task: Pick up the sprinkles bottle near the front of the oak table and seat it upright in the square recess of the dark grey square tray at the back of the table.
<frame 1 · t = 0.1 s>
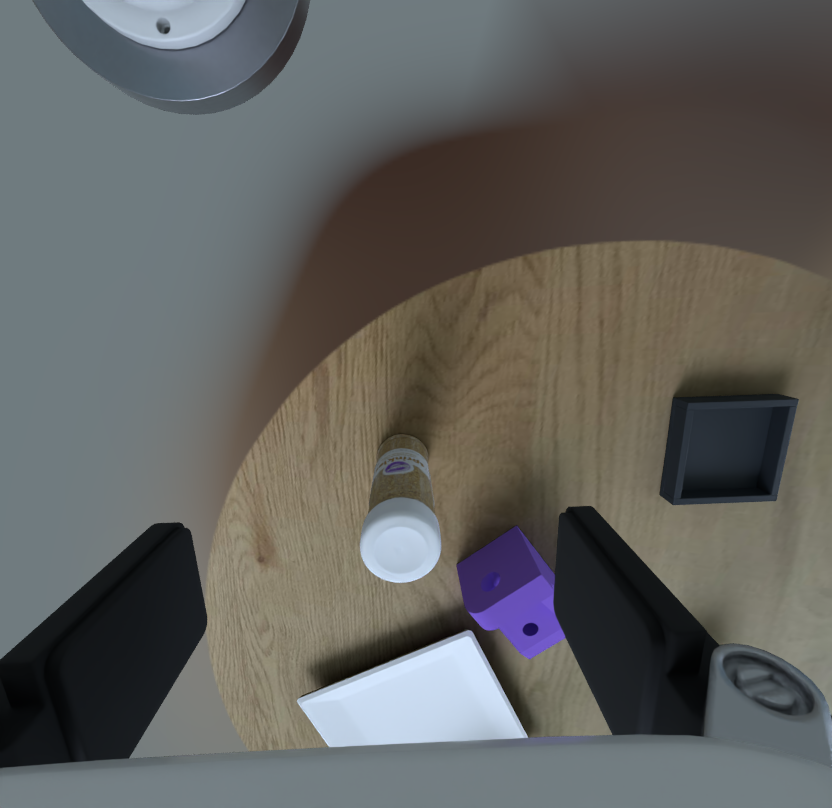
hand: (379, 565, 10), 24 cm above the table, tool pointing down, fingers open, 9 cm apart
bracket: (520, 586, 39), on the table
dark grey square tray: (716, 445, 35), on the table
plate: (421, 711, 42), on the table
sprinkles bottle: (402, 456, 35), on the table
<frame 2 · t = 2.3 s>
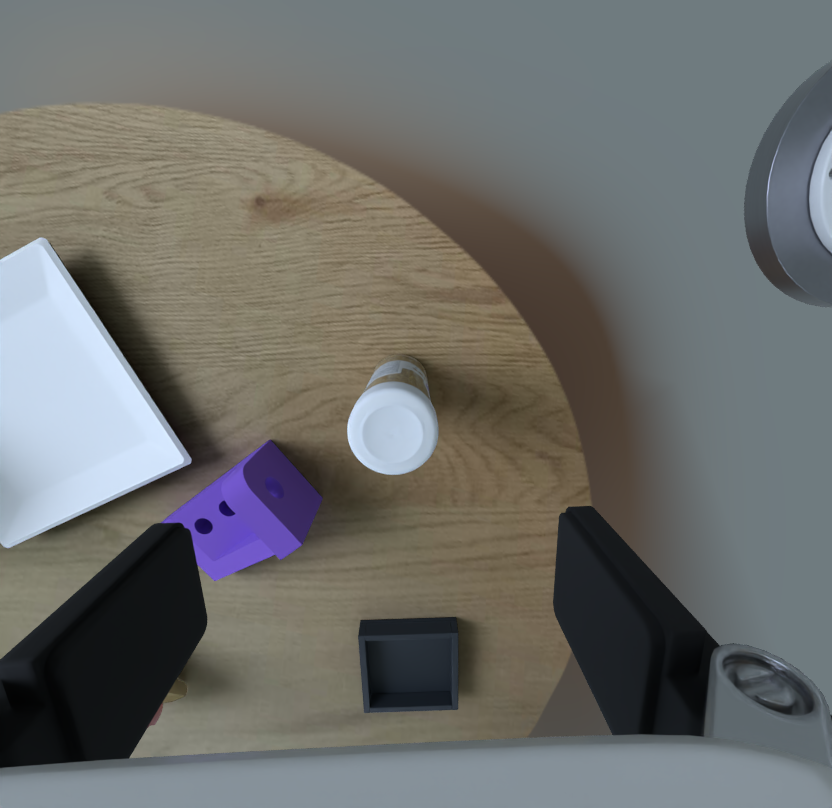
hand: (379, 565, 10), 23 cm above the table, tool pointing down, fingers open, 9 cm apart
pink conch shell: (148, 663, 39), on the table
bracket: (246, 506, 35), on the table
dark grey square tray: (409, 656, 39), on the table
plate: (46, 401, 33), on the table
sprinkles bottle: (399, 379, 32), on the table
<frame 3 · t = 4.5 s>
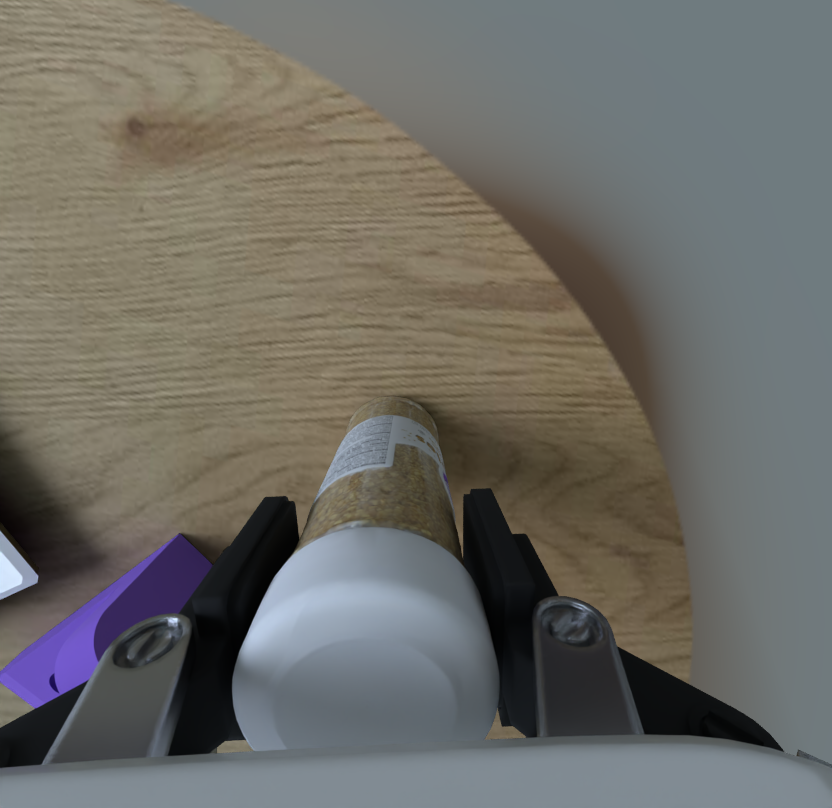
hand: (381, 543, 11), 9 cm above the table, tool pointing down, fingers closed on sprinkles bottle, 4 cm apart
bracket: (148, 633, 22), on the table
sprinkles bottle: (391, 436, 20), on the table, touching gripper
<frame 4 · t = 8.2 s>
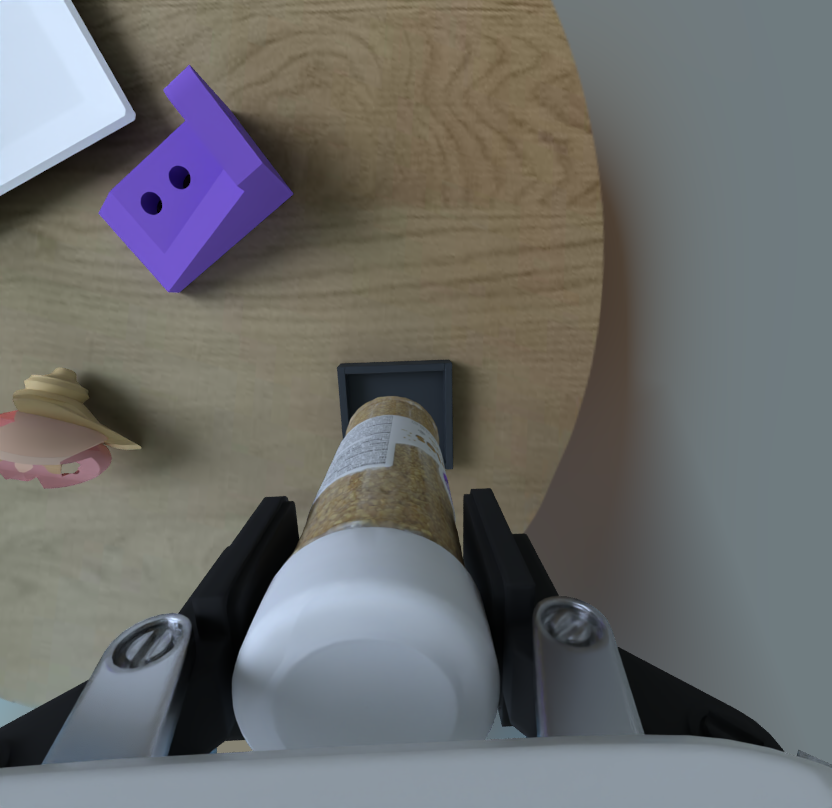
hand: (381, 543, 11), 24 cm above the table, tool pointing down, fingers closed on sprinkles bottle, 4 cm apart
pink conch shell: (97, 424, 34), on the table
bracket: (204, 206, 30), on the table
dark grey square tray: (397, 413, 35), on the table
sprinkles bottle: (391, 436, 20), point 15 cm above the table, touching gripper
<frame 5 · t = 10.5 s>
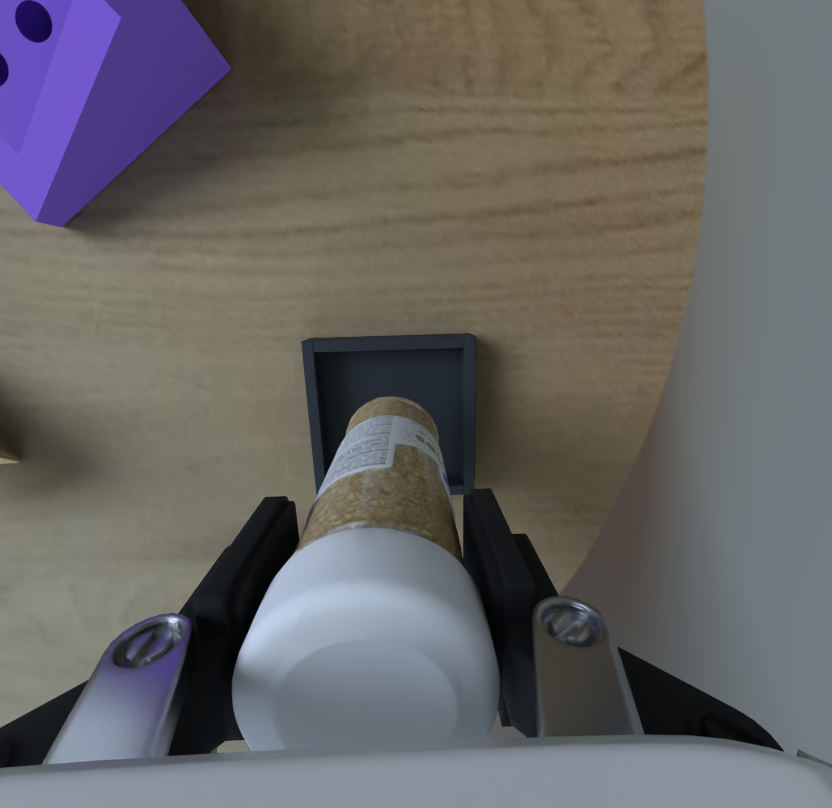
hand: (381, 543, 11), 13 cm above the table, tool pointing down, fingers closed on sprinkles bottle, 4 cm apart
bracket: (94, 89, 20), on the table
dark grey square tray: (393, 413, 24), on the table
sprinkles bottle: (391, 436, 20), point 4 cm above the table, touching gripper
when the fingers open (9 cm above the table, at t = 11.9 s): sprinkles bottle stays where it is, resting on dark grey square tray.
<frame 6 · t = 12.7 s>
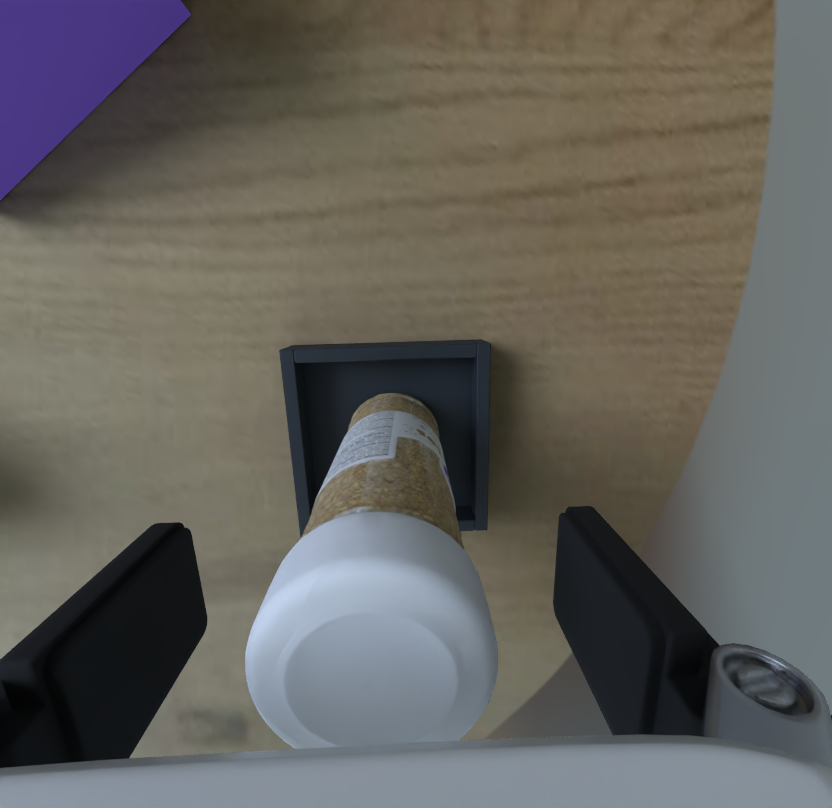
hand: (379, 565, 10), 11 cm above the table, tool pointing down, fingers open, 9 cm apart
bracket: (22, 40, 16), on the table
dark grey square tray: (391, 433, 20), on the table
sprinkles bottle: (393, 432, 20), resting on dark grey square tray
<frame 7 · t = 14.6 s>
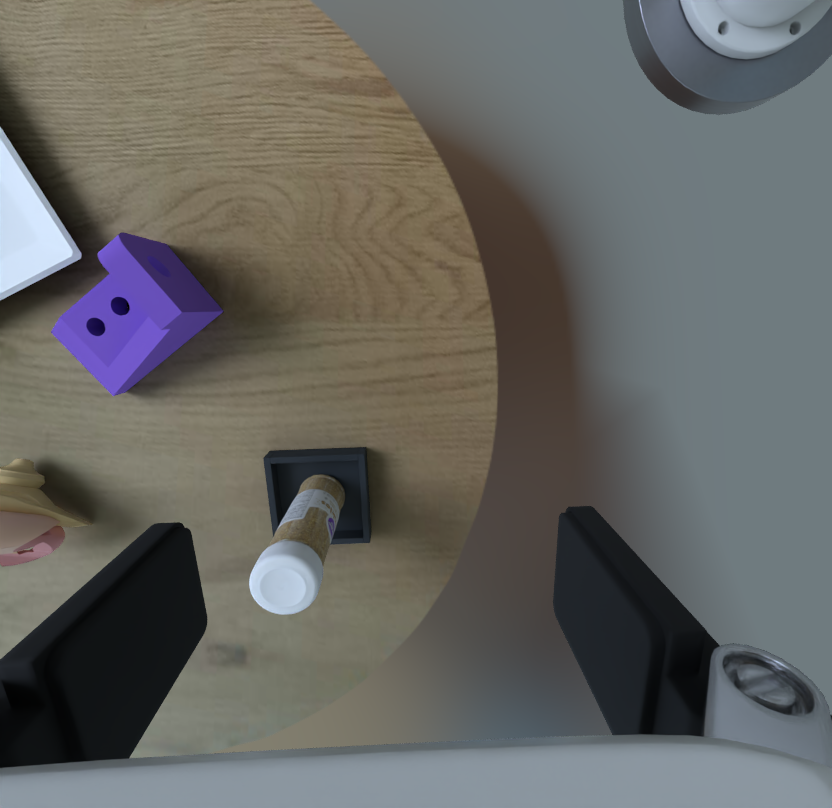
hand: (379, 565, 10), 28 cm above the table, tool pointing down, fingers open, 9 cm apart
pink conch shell: (53, 502, 39), on the table
bracket: (146, 321, 35), on the table
dark grey square tray: (322, 492, 39), on the table
sprinkles bottle: (322, 492, 39), resting on dark grey square tray
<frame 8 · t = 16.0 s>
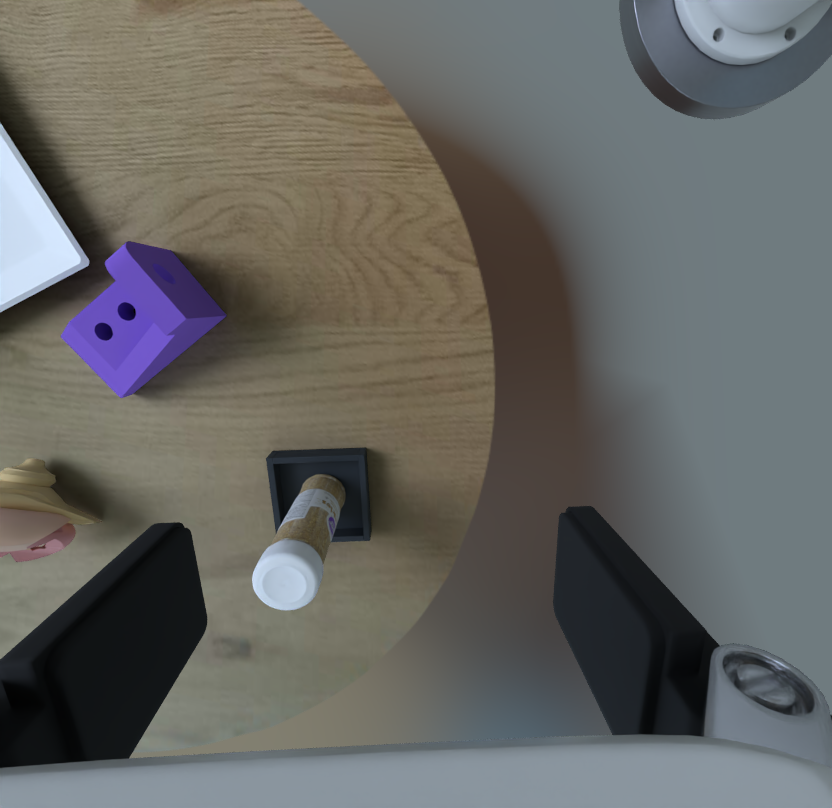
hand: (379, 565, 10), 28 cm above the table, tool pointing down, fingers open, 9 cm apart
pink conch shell: (64, 500, 40), on the table
bracket: (152, 325, 36), on the table
dark grey square tray: (323, 491, 40), on the table
sprinkles bottle: (323, 491, 40), resting on dark grey square tray
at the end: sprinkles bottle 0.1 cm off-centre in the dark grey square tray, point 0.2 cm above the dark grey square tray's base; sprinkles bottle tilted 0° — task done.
